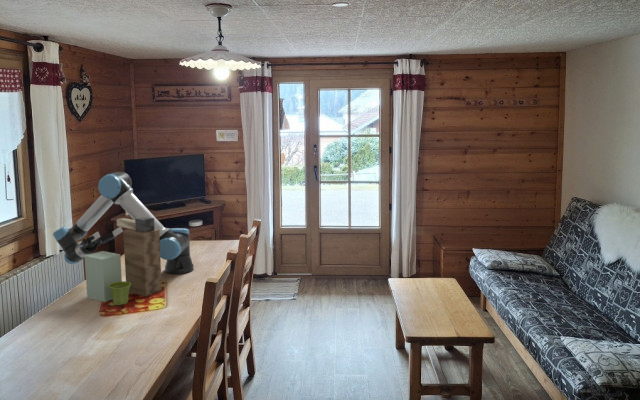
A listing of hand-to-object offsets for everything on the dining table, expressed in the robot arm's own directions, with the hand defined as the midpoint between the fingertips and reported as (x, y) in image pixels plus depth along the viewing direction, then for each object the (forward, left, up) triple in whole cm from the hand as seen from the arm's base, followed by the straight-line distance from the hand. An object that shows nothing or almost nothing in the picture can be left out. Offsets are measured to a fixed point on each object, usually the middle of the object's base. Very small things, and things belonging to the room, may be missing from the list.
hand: (110, 231), depth 274 cm
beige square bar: (-1, +16, +3) cm, 16 cm away
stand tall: (0, +22, -27) cm, 34 cm away
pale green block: (+15, +12, -27) cm, 33 cm away
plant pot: (+17, +25, -27) cm, 41 cm away
